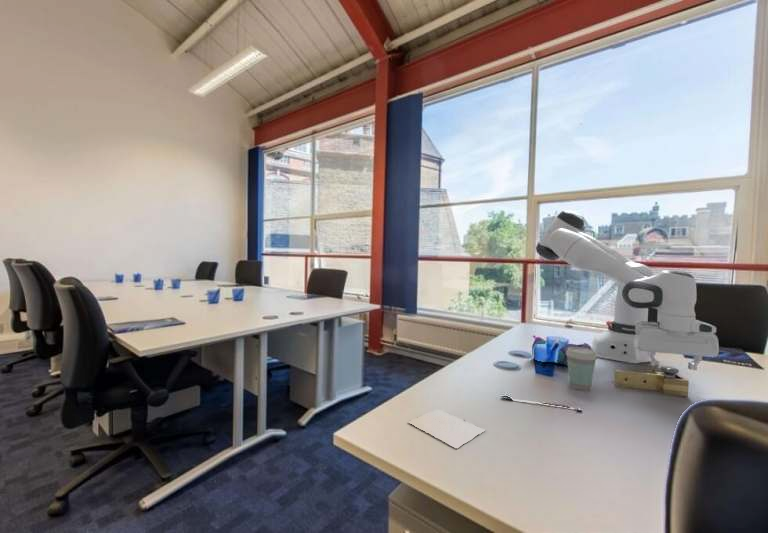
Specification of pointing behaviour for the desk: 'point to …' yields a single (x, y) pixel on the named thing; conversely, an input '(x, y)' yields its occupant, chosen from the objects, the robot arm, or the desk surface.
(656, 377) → the hinge
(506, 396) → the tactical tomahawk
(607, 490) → the desk surface
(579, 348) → the coffee cup
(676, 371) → the hinge pin
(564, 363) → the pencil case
